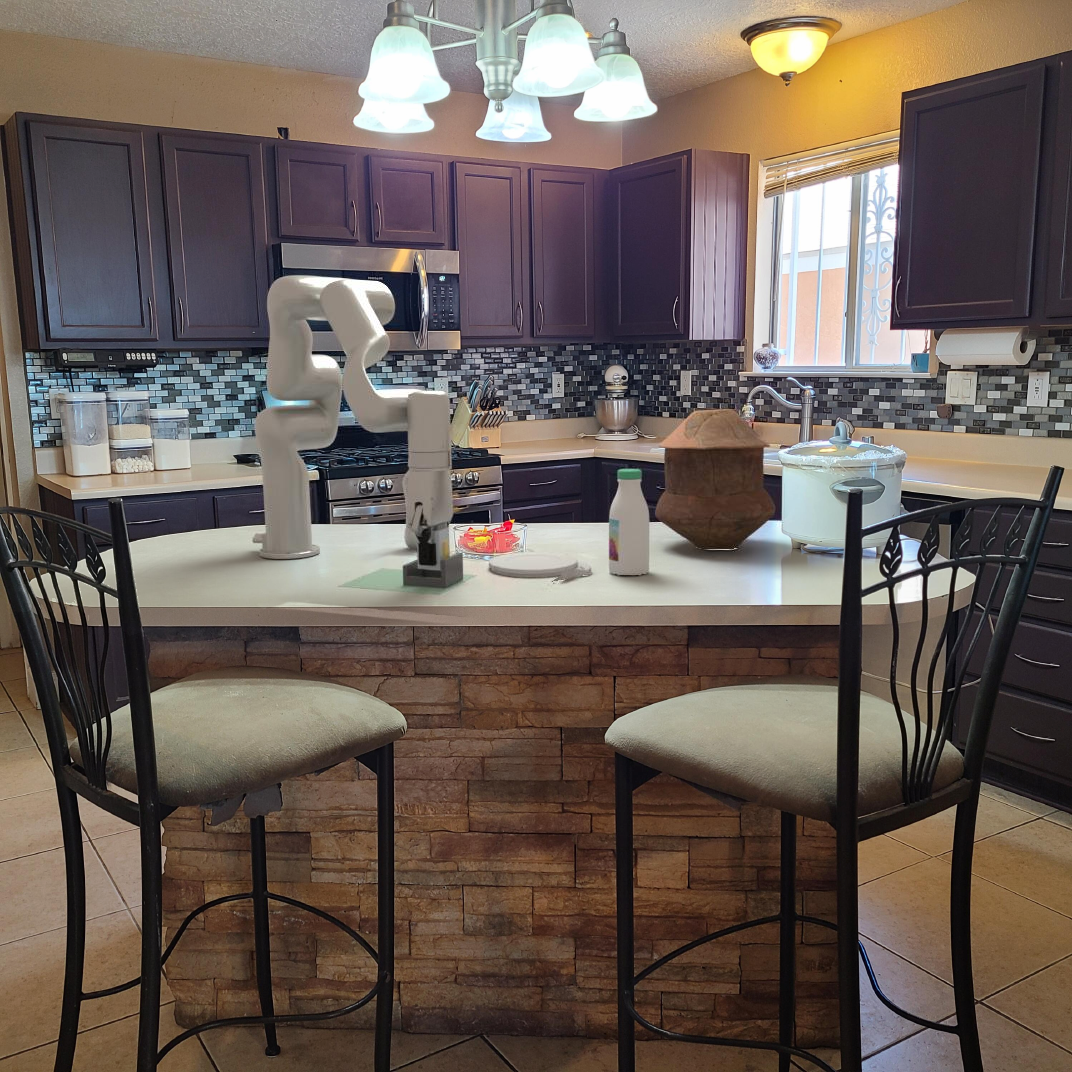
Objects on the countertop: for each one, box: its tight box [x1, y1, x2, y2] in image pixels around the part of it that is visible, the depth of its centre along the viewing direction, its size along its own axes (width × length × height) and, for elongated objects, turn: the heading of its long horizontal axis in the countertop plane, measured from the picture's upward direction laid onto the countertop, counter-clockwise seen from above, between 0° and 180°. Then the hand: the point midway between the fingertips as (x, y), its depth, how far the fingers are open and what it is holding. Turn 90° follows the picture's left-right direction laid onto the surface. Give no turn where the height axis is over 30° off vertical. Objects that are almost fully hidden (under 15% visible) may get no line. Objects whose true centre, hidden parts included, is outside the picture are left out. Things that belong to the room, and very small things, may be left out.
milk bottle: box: [608, 468, 650, 576], centre depth 190 cm, size 8×8×20 cm
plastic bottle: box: [401, 458, 425, 550], centre depth 216 cm, size 6×7×20 cm
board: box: [337, 568, 477, 595], centre depth 181 cm, size 20×16×1 cm
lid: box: [488, 551, 592, 583], centre depth 191 cm, size 17×20×3 cm
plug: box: [416, 522, 451, 570], centre depth 178 cm, size 5×4×8 cm
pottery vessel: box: [654, 408, 776, 550], centre depth 213 cm, size 26×26×30 cm
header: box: [402, 552, 464, 588], centre depth 179 cm, size 8×7×5 cm
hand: (433, 561), depth 178 cm, fingers closed on plug, 4 cm apart
